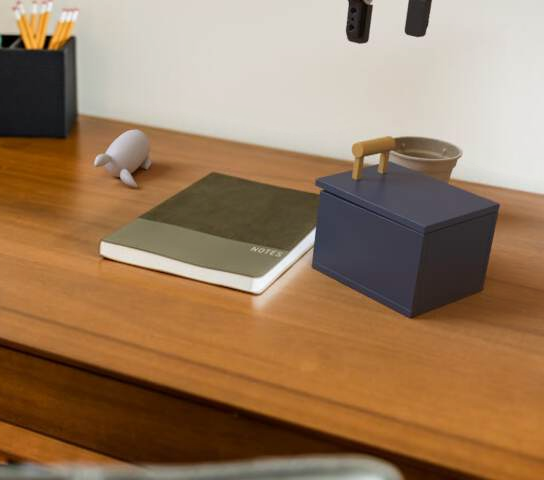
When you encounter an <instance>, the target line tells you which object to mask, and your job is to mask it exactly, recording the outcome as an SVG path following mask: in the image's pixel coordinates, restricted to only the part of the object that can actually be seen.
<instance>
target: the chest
mask: <svg viewBox="0 0 544 480" xmlns="http://www.w3.org/2000/svg"><path fill="white" fill-rule="evenodd" d="M498 216H499V211H496V212H493V213H490V214H487V215H484V216H480V217H477V218H474V219H471V220H468V221H464V222H461V223H458V224H455V225H452V226H448V227H445V228H442V229H439V230H436V231H432V232H429V233H426V234H423V233H421V232H418V231H416V230H414V229H412V228H409V227H407V226H405V225H403V224H400V223H398V222H396V221H394V220H391V219H389V218H387V217H385V216H382V215H380V214H378V213H376V212H373V211H371V210H369V209H367V208H364V207H362V206H360V205H358V204H356V203H353V202H351V201H349V200H347V199H344V198H342V197H340V196H338V195H335V194H333V193H331V192H329V191H326V190H324V189H321V190H319V197H318V205H317V215H316V223H315V231H314V232H315V233H314V241H313V250H312V259H311V268H312V269H314V270H316V271H317V272H319V273H322V274H323V275H325V276H327V277H329V278H331V279H333V280H335V281H337V282H339V283H341V284H343V285H345V286H347V287H349V288H351V289H352V290H354V291H356V292H358V293H360V294H363V295H364V296H366V297H368V298H371V299H372V300H374V301H376V302H378V303H379V304H382V305H383V306H385V307H387V308H389V309H391V310H393V311H395V312H397V313H399V314H401V315H403V316H405V317H406V318H408V319H412V318H415V317H417V316H420V315H422V314H426V313H427V312H431V311H433V310H435V309H438V308H441V307H443V306H446V305H448V304H451V303H453V302H456V301H459V300H461V299H464V298H466V297H469V296H472V295H474V294H477V293H479V292H482V291H484V288H485V282H486V277H487V272H488V266H489V262H490V257H491V252H492V248H493V247H492V246H493V242H494V236H495V231H496V228H497V227H496V226H497V223H498Z"/></svg>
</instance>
